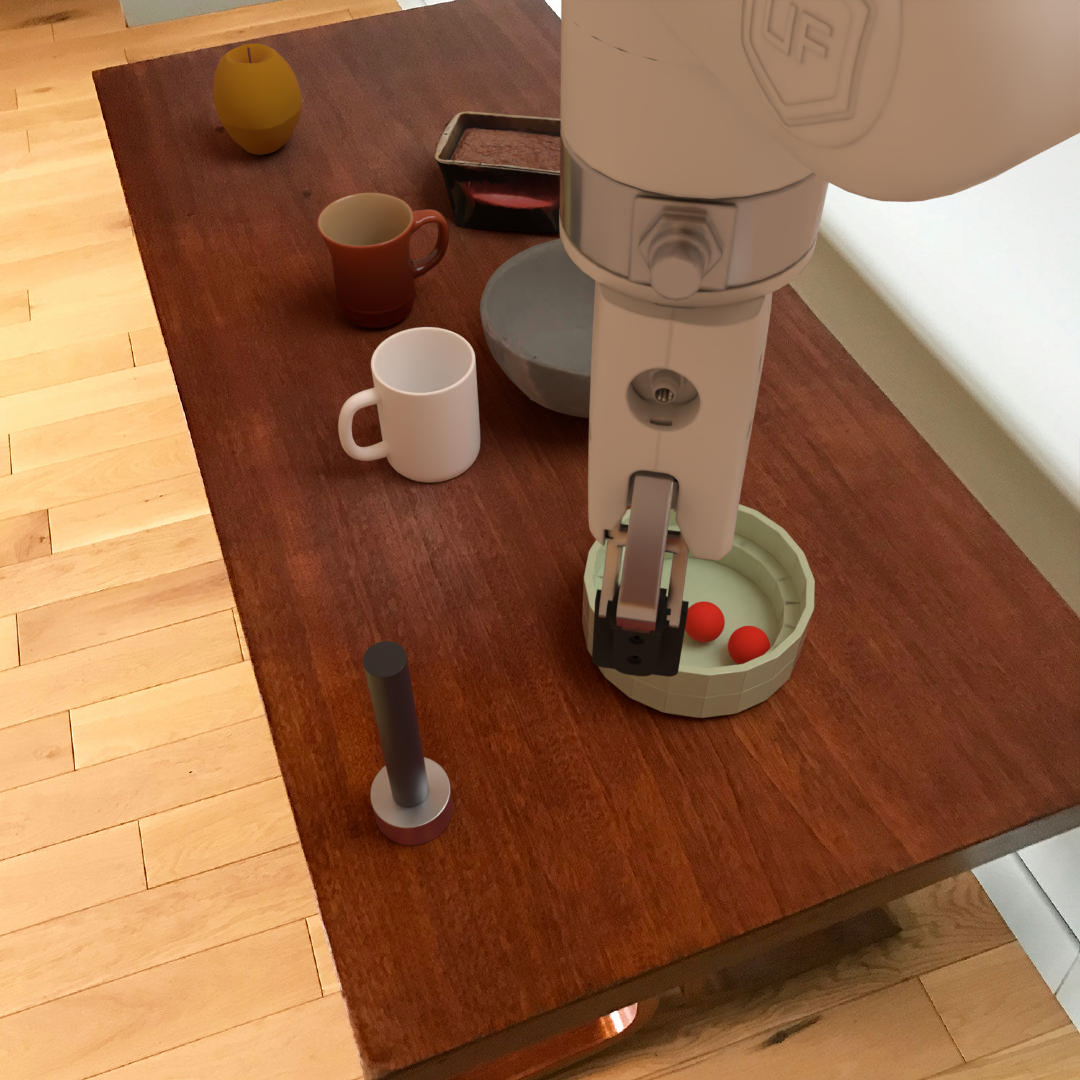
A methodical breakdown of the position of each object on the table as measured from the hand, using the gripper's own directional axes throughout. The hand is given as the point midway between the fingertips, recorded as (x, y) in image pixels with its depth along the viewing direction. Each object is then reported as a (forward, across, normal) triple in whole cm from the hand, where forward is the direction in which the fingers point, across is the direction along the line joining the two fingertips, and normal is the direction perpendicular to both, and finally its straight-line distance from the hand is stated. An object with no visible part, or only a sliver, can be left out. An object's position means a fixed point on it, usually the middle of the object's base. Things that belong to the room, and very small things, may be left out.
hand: (649, 566), depth 45 cm
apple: (+34, +82, +51) cm, 102 cm away
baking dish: (+34, +76, +20) cm, 85 cm away
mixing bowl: (+33, +22, -3) cm, 40 cm away
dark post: (+33, +4, +14) cm, 36 cm away
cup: (+34, +36, +22) cm, 54 cm away
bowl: (+34, +48, +8) cm, 59 cm away
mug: (+34, +56, +29) cm, 71 cm away
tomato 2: (+31, +20, -7) cm, 37 cm away
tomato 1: (+31, +21, -4) cm, 38 cm away
